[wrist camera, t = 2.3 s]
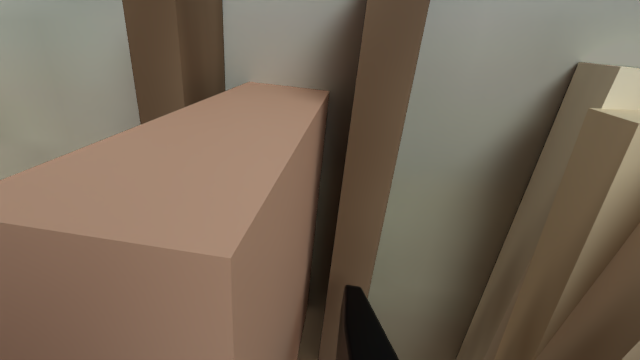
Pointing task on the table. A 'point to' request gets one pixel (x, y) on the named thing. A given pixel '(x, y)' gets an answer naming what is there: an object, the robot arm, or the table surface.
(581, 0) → the table surface
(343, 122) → the table surface
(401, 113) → the walnut rack
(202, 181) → the terracotta board
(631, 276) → the offcut stack
